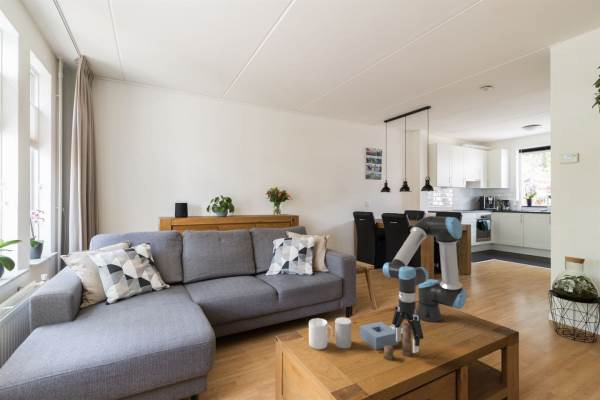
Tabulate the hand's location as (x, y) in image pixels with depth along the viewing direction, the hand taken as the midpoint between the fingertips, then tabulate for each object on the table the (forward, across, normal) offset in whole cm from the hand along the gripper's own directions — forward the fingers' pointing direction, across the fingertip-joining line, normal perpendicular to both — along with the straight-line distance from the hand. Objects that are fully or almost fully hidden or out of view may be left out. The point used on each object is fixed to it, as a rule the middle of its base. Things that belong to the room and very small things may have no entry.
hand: (406, 346), depth 136 cm
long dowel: (+4, 0, 0) cm, 4 cm away
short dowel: (+4, -1, -10) cm, 11 cm away
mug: (+4, -24, -34) cm, 42 cm away
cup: (+4, -20, -23) cm, 31 cm away
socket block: (+4, -16, -4) cm, 17 cm away
